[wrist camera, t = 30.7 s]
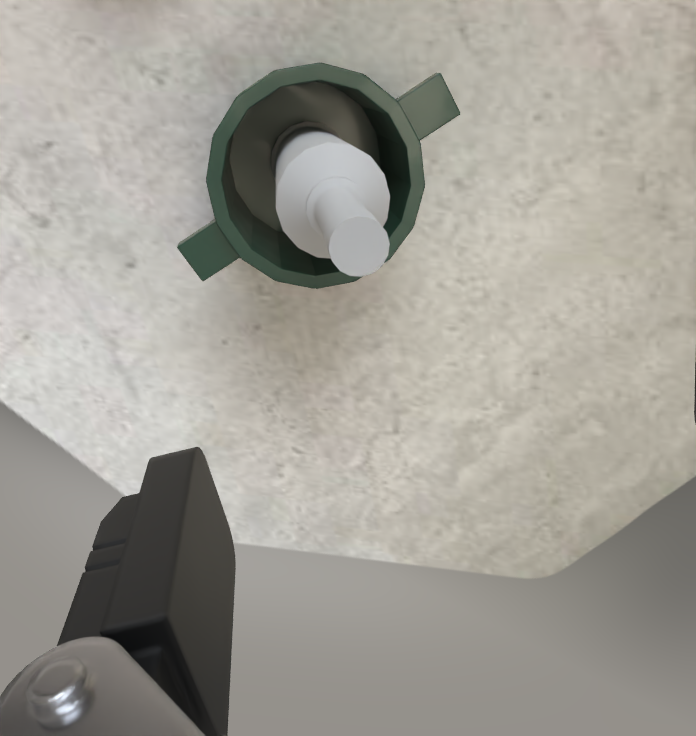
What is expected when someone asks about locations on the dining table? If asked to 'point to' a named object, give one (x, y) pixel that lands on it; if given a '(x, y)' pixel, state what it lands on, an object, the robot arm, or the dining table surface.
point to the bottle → (331, 198)
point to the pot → (256, 181)
